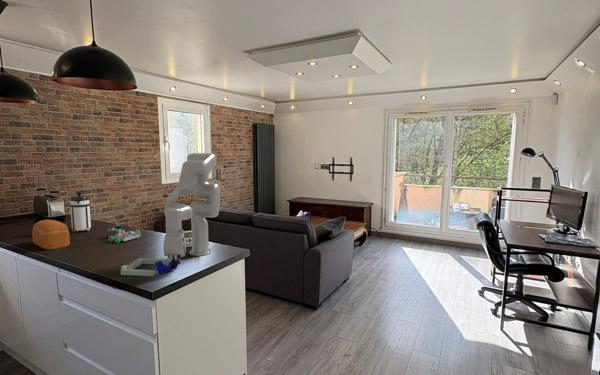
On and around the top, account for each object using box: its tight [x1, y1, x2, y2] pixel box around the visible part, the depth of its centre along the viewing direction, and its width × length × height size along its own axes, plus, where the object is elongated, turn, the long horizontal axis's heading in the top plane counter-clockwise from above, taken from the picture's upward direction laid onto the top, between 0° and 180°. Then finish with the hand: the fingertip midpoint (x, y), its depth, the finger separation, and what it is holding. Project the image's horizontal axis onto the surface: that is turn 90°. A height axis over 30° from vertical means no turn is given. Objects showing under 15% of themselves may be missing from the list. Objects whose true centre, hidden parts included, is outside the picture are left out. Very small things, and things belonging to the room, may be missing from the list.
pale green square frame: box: [120, 258, 171, 277], centre depth 166 cm, size 17×17×4 cm
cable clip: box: [154, 255, 181, 275], centre depth 165 cm, size 12×4×6 cm, turn 155°
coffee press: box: [68, 191, 92, 234], centre depth 244 cm, size 17×16×30 cm
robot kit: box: [106, 224, 142, 244], centre depth 224 cm, size 19×25×9 cm
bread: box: [31, 219, 71, 250], centre depth 208 cm, size 14×26×16 cm, turn 55°
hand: (174, 267), depth 164 cm, fingers closed
